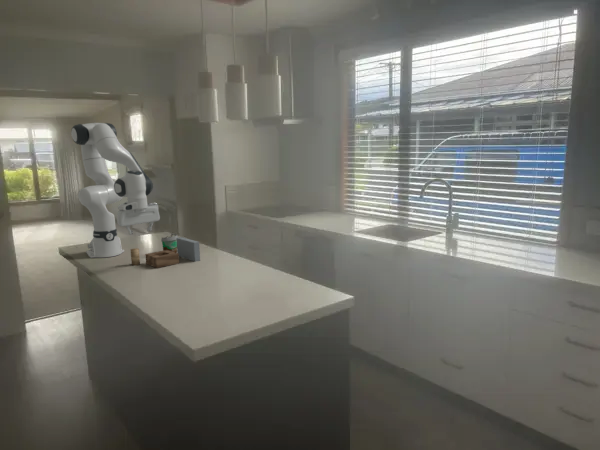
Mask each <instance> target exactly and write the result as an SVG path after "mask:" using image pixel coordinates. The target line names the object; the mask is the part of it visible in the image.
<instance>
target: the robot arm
mask: <svg viewBox="0 0 600 450" xmlns="http://www.w3.org/2000/svg"><path fill="white" fill-rule="evenodd" d="M117 132H118V131H117V129H116V126H115V125H113V123H109V122H91V123H82V124H81V123H78V124H74V125H73V126H72V128H71V133H70V135H71V138H72V141H73V142H74V143H75V144H76V145H80V149H81V150H80V152H81V160H82V164H83V168H84V172H85V175H86V177H87V178H90V179H91V180H93V181H94V183H95V185H89V186H88V185H87V186H85V187H83V188H81V189H79V192H78V193H77V198H78V200H79V203H80V204H81V206H84V207H85V208H86V209H87V210H88V211H89V213H90V215H91V218H92V224H93V232H92V239H91V241H89V244H87V248H88V249H89V250H86V251H85V253H86V255H87V257H89V258H90V259H91V258H94V259H95V258H110V257H115V256H119V255H122V253H125V249H123V248H122V243H121V242H122V241H121V237H119V236H118V229H117V227H116V223H117V225H118V226H119V227H125V229H126V230H127V231H128V235H134V231H133V229H131V226H134V225H141V224H147V223H148V227H147V228H146V229H147V232H152V230H153V229H152V228H153V225H154V223H155V222H159V221H160V219H161V215H160V211H159V204H158V203H156V202H151V203H150V202H148V197H147V196H149V195H151V193H152V192H153V189H154V183H153V181H152V179H151V178H150V176H148V175H147V173H145V171H144V170H143V168H142V166H141V165H140V163H139V162H138V160H137V158H135V156H134V155H133V153H132V152H130V151H129V150H127V149H126V148H125V147H124V146H123V145H122V144H121V143H120V141H119V139H118V137H117V136H118V135H117ZM106 161H108V162H113V163H117V164H121V165H123V166H125V167H126V168H127V169H128V171H126V172H125V174H124V175H123V176H121V177H120V178H117V179H116V180H115V181H114V179H113V178H112V176H111V175H110V172H109V169H108V167H107V162H106ZM123 198H127V200H126V201H125V202H123V203H121V204H119V205H117V210H118V211H117V213H116V216H115V214H114V213H112V212H111V211H109V210H108V208H107V206H106V205H111V204H116V203H117V202H120V201H121V200H122V199H123ZM115 217H116V219H115Z"/></svg>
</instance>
